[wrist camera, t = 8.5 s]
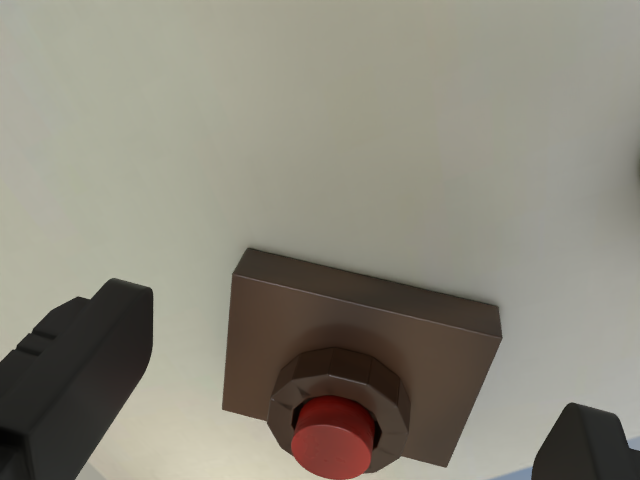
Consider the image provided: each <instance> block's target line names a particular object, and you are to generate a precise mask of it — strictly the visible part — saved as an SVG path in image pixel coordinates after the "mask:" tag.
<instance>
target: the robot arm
mask: <svg viewBox="0 0 640 480" xmlns="http://www.w3.org/2000/svg"><path fill="white" fill-rule="evenodd" d="M152 347H153V291H152V289H151V288H149V287H146V286H142V285H139V284H135V283H131V282H127V281H124V280H120V279H116V278H112V279H110V280H108V281H107V282H106V283H105V284H104V285H103V286H102V287H101V289H100V290H99V291H98V292H97V293H96V294H95V295H94V296H93V297H92V298H91V300H90V299H86V298H82V297H79V296H78V297H76V298H74V299H72V300H70V301H68V302H66V303H64V304H62V305H61V306H59V307H57V308H55V309H53V310H51V311H50V312H49V313H48V314H47V315H46V316H45V317H44V318H43V319H42V320H41V321H40V322H39V323H38V324H37V325H36V326H35V327H34V328H33V331H32V333H31V334H30V333H29V334H28V335H27V336H26V337H25V338H24V339H23V340H22V341H21V342H20V343H19V344H18V345H17V348H16V349H15V350H12V351H11V352H10V353H9V354H8V355H7V356H6V357H5V358H4V359H3V360H2V361H1V362H0V480H75V479H76V477H77V476H78V474H79V473H80V471H81V469H82V468H83V466H84V465H85V463H86V462H87V460H88V459H89V457H90V456H91V454H92V453H93V451H94V450H95V448H96V447H97V445H98V444H99V442H100V440H101V439H102V437H103V436H104V434H105V433H106V431H107V430H108V428H109V427H110V425H111V424H112V422H113V421H114V419H115V418H116V416H117V415H118V413H119V411H120V410H121V408H122V407H123V405H124V404H125V402H126V401H127V399H128V398H129V396H130V395H131V393H132V392H133V390H134V389H135V387H136V386H137V384H138V382H139V381H140V379H141V378H142V376H143V375H144V373H145V371H146V368H147V366H148V363H149V360H150V357H151V353H152ZM531 480H640V451H638V450H634V449H630V448H629V446H628V443H627V440H626V437H625V434H624V431H623V428H622V425H621V422H620V420H619V418H618V417H617V416H616V415H615V414H614V413H610V412H606V411H603V410H599V409H595V408H592V407H588V406H584V405H580V404H577V403H569V404H567V406H566V407H565V408H564V409H563V411H562V413H561V414H560V416H559V418H558V419H557V421H556V423H555V424H554V426H553V428H552V429H551V431H550V433H549V434H548V436H547V438H546V439H545V441H544V443H543V444H542V446H541V448H540V450H539V451H538V453H537V455H536V458H535V461H534V464H533V469H532V478H531Z"/></svg>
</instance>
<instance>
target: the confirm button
mask: <svg viewBox="0 0 640 480" xmlns="http://www.w3.org/2000/svg"><path fill="white" fill-rule="evenodd" d="M374 435H375V423H374V420H373V418H372V416H371V414H370V413H369V412H368V411H367V410H366V409H365V408H364V407H363V406H362V405H360V404H359V403H357V402H355V401H353V400H351V399H347V398H343V397H339V396H334V395H326V396H319V397H316V398H313V399H311V400H310V401H308V402H307V403H306V404H305V405H304V406H303V407H302V409H301V410H300V414H299V417H298V421H297V424H296V428H295V431H294V435H293V438H292V442H291V450H292V453H293V455H294V457H295V459H296V460H297V462H298V463H299V464H300V465H301V466H302V467H304V468H305V469H306V470H308V471H309V472H311V473H313V474H315V475H318V476H320V477H323V478H327V479H334V480H346V479H351V478H355V477H357V476H359V475H361V474H363V473H364V472H365V471H366V470H367V469H368V467H369V465H370V463H371V457H372V450H373V442H374Z"/></svg>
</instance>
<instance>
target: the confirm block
mask: <svg viewBox="0 0 640 480" xmlns="http://www.w3.org/2000/svg"><path fill="white" fill-rule="evenodd" d="M501 340H502V330H501V322H500V315H499V308H498V307H496V306H492V305H488V304H483V303H479V302H475V301H471V300H466V299H462V298H458V297H453V296H449V295H445V294H441V293H436V292H432V291H428V290H423V289H419V288H415V287H411V286H406V285H402V284H398V283H393V282H389V281H385V280H381V279H376V278H372V277H368V276H363V275H359V274H355V273H351V272H346V271H342V270H338V269H333V268H329V267H325V266H321V265H316V264H312V263H308V262H303V261H299V260H295V259H291V258H286V257H282V256H278V255H273V254H269V253H265V252H261V251H256V250H252V249H246V251H245V253H244V254H243V256H242V258H241V260H240V261H239V263H238V265H237V267H236V268H235V270H234V272H233V273H232V284H231V297H230V310H229V324H228V337H227V350H226V363H225V376H224V389H223V402H222V409H223V410H225V411H229V412H233V413H237V414H241V415H245V416H249V417H252V418H256V419H260V420H264V421H267V424H268V426H269V428H270V430H271V431H272V433H273V435H274V437H275V438H276V440H277V442H278V443H279V445H280V447H281V448H282V449H283V450H285V451H286V452H288V453H289V454H291V455H292V456H294V455H293V453H292V450H291V442H292V438H293V435H294V431H295V428H296V424H297V421H298V417H299V414H300V410H301V409H302V407H303V406H304V405H305V404H306V403H307V402H308V401H310V400H311V399H313V398H316V397H319V396H326V395H334V396H339V397H343V398H347V399H351V400H353V401H355V402H357V403H359V404H360V405H362V406H363V407H364V408H365V409H366V410H367V411H368V412H369V413H370V414H371V416H372V418H373V420H374V423H375V435H374V442H373V450H372V457H371V463H370V465H369V467H368V469H367V470H366V471H365V472H364V473H374V472H377V471H379V470H380V469H382V468H384V467H385V466H387V465H389V464H390V463H392V462H394V461H395V460H397V459H399V458H400V457H401V456H403V457H407V458H410V459H414V460H418V461H422V462H426V463H430V464H434V465H437V466H441V467H445V468H446V467H447V466H448V463H449V461H450V459H451V457H452V454H453V452H454V450H455V447H456V445H457V443H458V440H459V438H460V436H461V433H462V431H463V429H464V426H465V424H466V422H467V419H468V417H469V415H470V412H471V410H472V408H473V405H474V403H475V401H476V398H477V396H478V394H479V392H480V389H481V387H482V385H483V382H484V380H485V378H486V375H487V373H488V371H489V368H490V366H491V364H492V361H493V359H494V357H495V354H496V352H497V350H498V347H499V345H500V343H501ZM364 473H363V474H364Z"/></svg>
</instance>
